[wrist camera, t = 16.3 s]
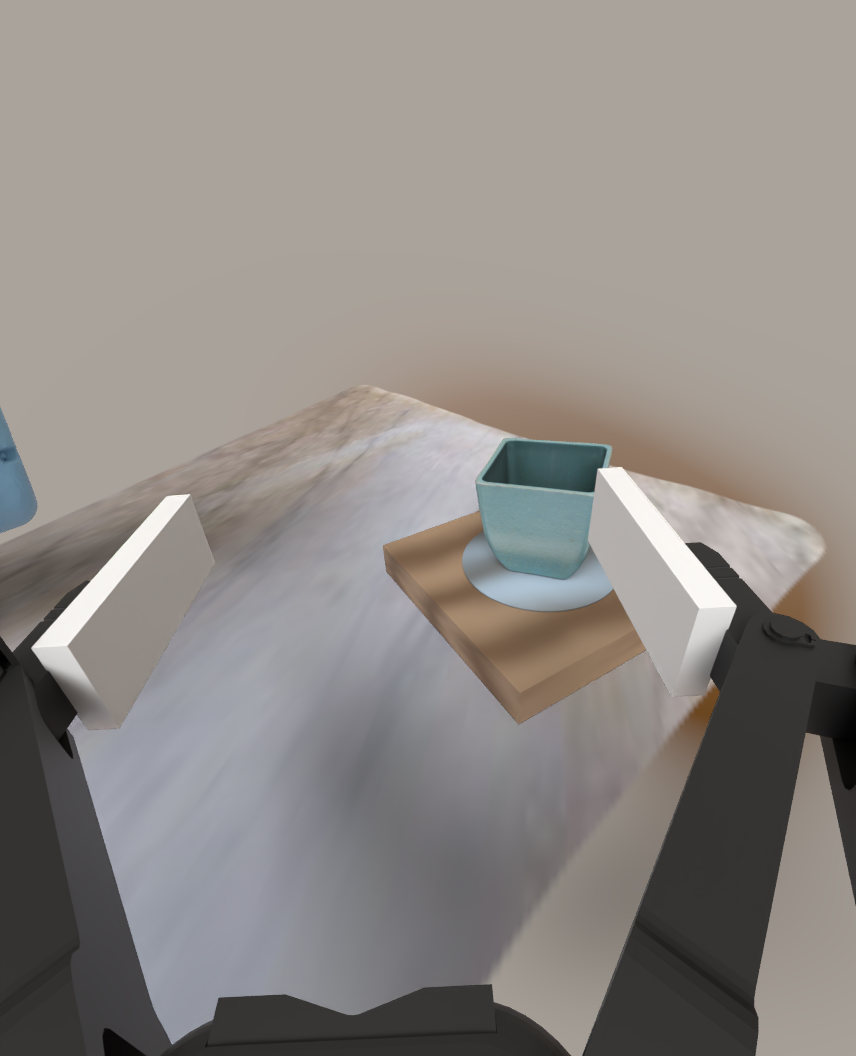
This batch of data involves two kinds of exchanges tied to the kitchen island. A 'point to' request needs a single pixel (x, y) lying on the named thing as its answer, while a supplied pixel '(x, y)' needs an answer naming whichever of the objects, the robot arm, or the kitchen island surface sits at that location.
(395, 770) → the kitchen island surface
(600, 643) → the walnut plinth
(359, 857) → the kitchen island surface
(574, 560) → the flower pot
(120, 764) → the kitchen island surface
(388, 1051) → the robot arm
